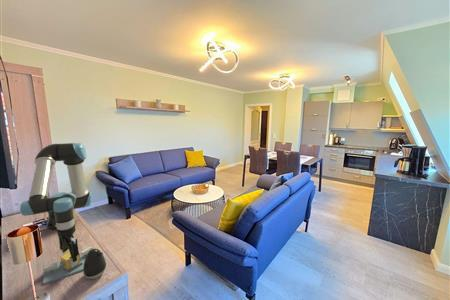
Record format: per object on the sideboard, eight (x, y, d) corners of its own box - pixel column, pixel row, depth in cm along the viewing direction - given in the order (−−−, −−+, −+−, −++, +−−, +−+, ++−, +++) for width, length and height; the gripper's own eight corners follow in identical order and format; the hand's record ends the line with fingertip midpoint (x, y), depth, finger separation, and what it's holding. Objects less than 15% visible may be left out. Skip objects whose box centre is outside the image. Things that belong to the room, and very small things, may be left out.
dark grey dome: (96, 284, 98) (93, 258, 95) (79, 280, 100) (75, 255, 97) (111, 268, 108) (109, 245, 105) (95, 265, 109) (92, 242, 106)
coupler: (59, 267, 105) (57, 258, 104) (76, 257, 112) (74, 248, 111) (65, 271, 102) (64, 262, 101) (82, 260, 110) (81, 251, 109)
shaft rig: (46, 267, 107) (45, 259, 106) (94, 251, 119) (93, 244, 118) (42, 285, 96) (41, 276, 95) (95, 266, 109) (94, 258, 108)
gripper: (47, 225, 103) (53, 262, 108) (68, 236, 95) (73, 275, 100) (64, 218, 110) (68, 253, 114) (84, 228, 102) (88, 265, 107)
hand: (71, 263), depth 107 cm, fingers closed on coupler, 6 cm apart
